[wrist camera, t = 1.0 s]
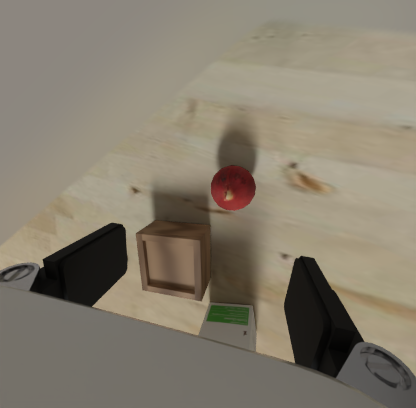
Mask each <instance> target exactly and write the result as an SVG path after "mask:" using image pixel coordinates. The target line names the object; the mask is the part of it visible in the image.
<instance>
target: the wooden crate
mask: <svg viewBox="0 0 416 408" xmlns="http://www.w3.org/2000/svg"><path fill="white" fill-rule="evenodd" d="M136 239H137V248H138V256H139V264H140V273H141V281H142V289H143V290H145V291H150V292H155V293H160V294H166V295H171V296H176V297H181V298H187V299H192V300H197V301H202V299H203V296H204V294H205V291H206V288H207V286H208V283H209V281H210V278H211V246H210V225H204V224H193V223H181V222H170V221H159V220H155V221H154V222H152V223H151V224H149V225H148V226H146V227H145V228H143V229H142V230H140V231H139V232H137V233H136Z"/></svg>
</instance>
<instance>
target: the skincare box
mask: <svg viewBox="0 0 416 408" xmlns="http://www.w3.org/2000/svg"><path fill="white" fill-rule="evenodd" d="M198 336H201V337H205V338H209V339H212V340H216V341H219V342H223V343H227V344H230V345H234V346H238V347H241V348H245V349H248V350H251V351H255V352H256V325H255V318H254V311H253V306H252V305H240V304H226V303H213V302H210V303H209V306H208V309H207V312H206V315H205V318H204V321H203V324H202V326H201V329H200V332H199V335H198Z"/></svg>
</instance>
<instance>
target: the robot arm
mask: <svg viewBox="0 0 416 408" xmlns="http://www.w3.org/2000/svg"><path fill="white" fill-rule="evenodd" d="M43 264H44V267H42V268H41V269H40V267H39V265H38V264H36V263H21V264H17V265H13V266H10V267H7V268H5V269H3V270H1V271H0V408H416V377H415V376H414V374H413V373H412V372H411V370H410V369H409V368H408V367H407V366H406V365H405V364H404V363H403V362H402V361H401V360H400V359H399V358H397V357H396V356H395V355H393V354H392V353H391V352H389V351H387V350H385V349H384V348H382V347H380V346H378V345H375V344H372V343H368V342H364V340H363V338H362V337H361V335H360V333H359V332H358V330H357V328H356V326H355V325H354V323H353V321H352V320H351V318H350V316H349V314H348V313H347V311H346V309H345V308H344V306H343V304H342V303H341V301H340V299H339V297H338V296H337V294H336V293H335V291H334V290H332V289H331V287H330V285H329V284H328V282H327V280H326V278H325V277H324V275H323V273H322V271H321V270H320V268H319V266H318V264H317V263H316V261H315V259H314V258H310V257H304V256H300V258H296V259H295V262H294V266H293V270H292V274H291V278H290V282H289V286H288V290H287V294H286V298H285V302H284V310H285V315H286V320H287V325H288V330H289V335H290V339H291V344H292V349H293V354H294V359H295V363H292V362H289V361H286V360H283V359H279V358H276V357H273V356H269V355H265V354H262V353H258V352H255V351H251V350H248V349H245V348H241V347H238V346H234V345H230V344H227V343H223V342H219V341H216V340H212V339H209V338H205V337H201V336H198V335H194V334H191V333H187V332H183V331H180V330H176V329H172V328H169V327H165V326H161V325H158V324H154V323H150V322H147V321H143V320H139V319H135V318H132V317H128V316H124V315H121V314H117V313H113V312H109V311H106V310H102V309H98V308H94V307H92V306H93V305H94V304H95V303H96V302H97V301H98V300H99V299H100V298H101V297H102V296H103V295H104V294H105V293H106V292H107V291H108V290H109V289H110V288H111V287H112V286H113V285H114V284H115V283H116V282H117V281H118V280H119V279H120V278H121V277H122V276H123V275H124V274H125V273H126V271H127V250H126V230H125V228H124V227H123V225H122V224H117V223H110V224H108V225H106V226H104V227H102V228H100V229H99V230H97V231H95V232H93V233H91V234H89V235H87V236H85V237H84V238H82V239H80V240H78V241H76V242H74V243H72V244H70V245H69V246H67V247H65V248H63V249H61V250H59V251H57V252H55V253H54V254H52V255H50V256H48V257H46V258H44V259H43Z"/></svg>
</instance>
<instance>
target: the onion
mask: <svg viewBox="0 0 416 408" xmlns="http://www.w3.org/2000/svg"><path fill="white" fill-rule="evenodd" d="M255 189H256V185H255V182H254V178H253V177H252V175H251V174H250V173H249V171H247V170H246V169H244V168H242V167H240V166H233V165H230V166H227V167H224V168H222V169H220V170H219V171H218V172H217V173H216V174H215V175H214V177H213V180H212V183H211V194H212V197H213V199H214V201H215V202H216V203H217V204H218V206H220V207H222V208H224V209H226V210H234V211H235V210H238V209H242V208H244V207H245V206H246V205H248V204H249V203H250V202H251V200H252V199H253V197H254V195H255Z"/></svg>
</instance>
